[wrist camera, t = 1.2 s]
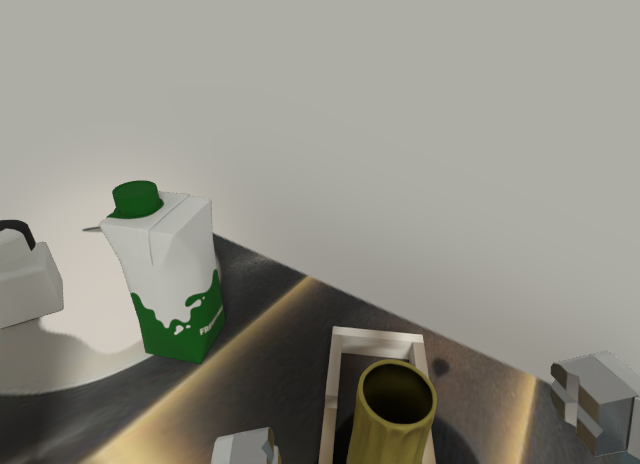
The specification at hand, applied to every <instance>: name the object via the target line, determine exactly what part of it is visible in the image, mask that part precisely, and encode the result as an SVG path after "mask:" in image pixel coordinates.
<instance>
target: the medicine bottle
mask: <svg viewBox="0 0 640 464" xmlns="http://www.w3.org/2000/svg"><path fill="white" fill-rule="evenodd" d="M63 307H64V305H63V285H62V279H61V276H60V274H59V271H58V269H57V267H56V264H55V262H54V260H53V258H52V255H51V253H50V250H49V248H48V246H47V244H46V242H39V243H36V242H35V240H34V238H33V236H32V233H31V231H30V229H29V227H28V225H27V224H26V223H24V222H22V221H19V220H1V221H0V328H5V327H8V326H11V325H15V324H18V323H21V322H25V321H28V320H31V319H35V318H38V317H41V316H45V315H48V314H51V313H55V312H58V311H61V310H63Z"/></svg>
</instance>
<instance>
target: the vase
mask: <svg viewBox="0 0 640 464" xmlns="http://www.w3.org/2000/svg"><path fill="white" fill-rule="evenodd" d="M436 405H437V395H436V391H435V389H434V386H433V385H432V383H431V382H430V380H429V379H428V378H427V377H426V376H425V374H424V373H423V372H421V371H420V370H419V369H417V368H416V367H415V366H413V365H411V364H409V363H406V362H403V361H398V360H390V359H389V360H381V361H378V362H376V363H373V364H372V365H370V366H369V367H368V368H367V369H366V370H365V371H364V372H363V373H362V375H361V377H360V380H359V384H358V389H357V395H356V406H355V413H354V423H353V430H352V435H351V440H350V445H349V450H348V456H347V462H346V464H421V463H422V459H423V454H424V450H425V446H426V443H427V439H428V436H429V432H430V429H431V426H432V423H433V419H434V415H435V411H436Z"/></svg>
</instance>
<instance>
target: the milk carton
mask: <svg viewBox="0 0 640 464" xmlns="http://www.w3.org/2000/svg"><path fill="white" fill-rule="evenodd" d="M112 194H113V198H114V201H115V205H116V208H115V210H114V212H113V213H112V214H110V215H109V216H107V218H106V219H105V220H103V221H102V222H100V223H99V226H100V228H101V230H102V231H103V233H104V235H105V236H106V238H107V239H108V241H109V243H110V245H111V246H112V248H113V250H114V251H115V253H116V255H117V257H118V258H119V261H120V263H121V266H122V269H123V272H124V275H125V278H126V281H127V285H128V288H129V291H130V294H131V297H132V300H133V303H134V307H135V310H136V313H137V316H138V319H139V323H140V328H141V333H142V338H143V343H144V347H145V352H146V353H149V354H154V355H159V356H164V357H168V358H173V359H178V360H183V361H188V362H193V363H197V364H201V363H202V361H203V360H204V358H205V356H206V354H207V353H208V351H209V349H210V348H211V346H212V344H213V343H214V341H215V339H216V338H217V336H218V334H219V333H220V331H221V329H222V328H223V326H224V324H225V323H226V319H225V314H224V309H223V304H222V297H221V291H220V284H219V278H218V271H217V265H216V258H215V252H214V245H213V233H212V207H211V199H210V198H202V197H194V196H190V195H189V194H182V193H180V194H177V193H169V192H160V191H158V190H157V186H156V184H155V183H153V182H150V181H132V182H127V183H124V184H121V185H119V186H117V187H116V188H115V189H114V190H113V192H112Z"/></svg>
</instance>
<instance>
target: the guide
mask: <svg viewBox="0 0 640 464" xmlns="http://www.w3.org/2000/svg"><path fill="white" fill-rule="evenodd" d="M341 353H350V354H360V355H369V356H379V357H389V358H399V359H409V363H410V364H411V365H413V366H415V367H416V368H417V369H419V370H420V371H421V372H423V373H424V374H425V376H426V377H427V378H428V379H429V376H428V369H427V363H426V356H425V349H424V342H423V336H422V335H418V334H407V333H397V332H387V331H376V330H366V329H355V328H345V327H335V326H333V332H332V341H331V350H330V358H329V367H328V376H327V385H326V394H325V410H324V419H323V428H322V437H321V446H320V455H319V464H332V460H333V448H334V436H335V424H336V412H337V400H338V387H339V375H340V363H341ZM421 464H436V462H435V455H434V448H433V440H432V433H431V429H430V432H429V436H428V439H427V443H426V446H425V450H424V454H423V459H422V463H421Z"/></svg>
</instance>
